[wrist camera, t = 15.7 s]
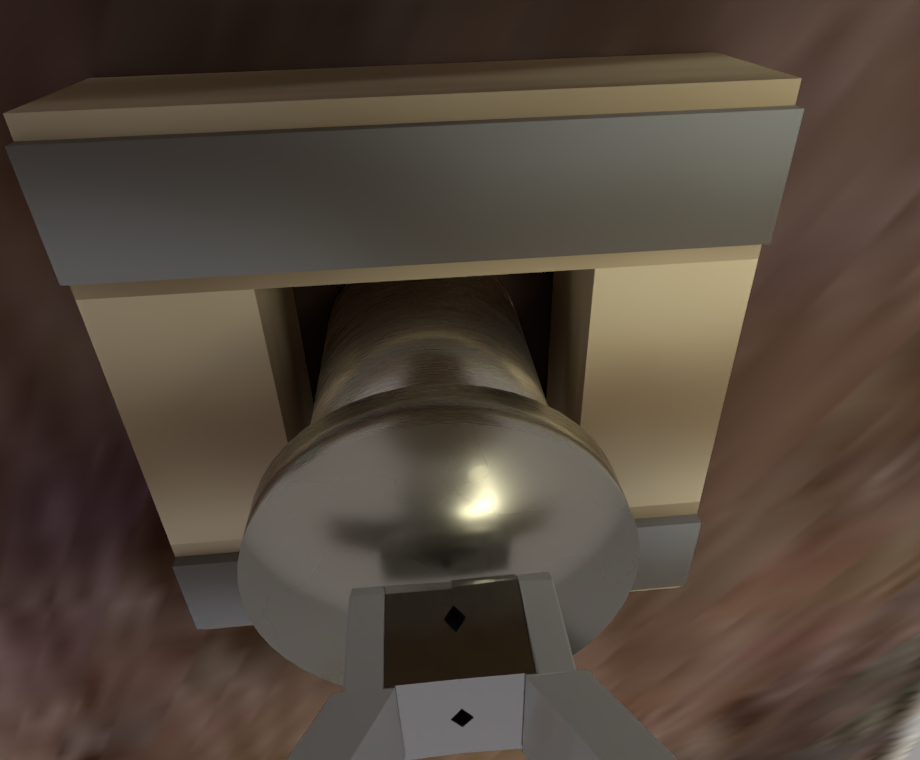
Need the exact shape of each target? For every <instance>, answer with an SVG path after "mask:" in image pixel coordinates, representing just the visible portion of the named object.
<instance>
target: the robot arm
mask: <svg viewBox="0 0 920 760" xmlns="http://www.w3.org/2000/svg"><path fill="white" fill-rule="evenodd" d="M521 748H522V752H523V753H524V755H525V756H526V758H527V759H528V760H677V759H676V758H675V757H674V756H673V755H672V754H671V753H670V752H669V751H668V750H667V749H666V748H665V747H664V746H663V745H662V744H661V743H660V742H659V741H658V740H657V739H656V738H655V737H654V736H653V735H652V734H651V733H650V732H649V731H648V730H647V729H646V728H645V727H644V726H643V725H642V724H641V723H640V722H639V721H638V720H637V719H636V718H635V717H634V716H633V715H632V714H631V713H630V712H629V711H628V710H627V709H626V708H625V707H624V706H623V705H622V704H621V703H620V702H619V701H618V700H617V699H616V698H615V697H614V696H613V695H612V694H611V693H610V692H609V691H608V690H607V689H606V688H605V687H604V686H603V685H602V684H601V683H600V682H599V681H598V680H597V679H596V678H595V677H594V676H593V675H592V674H591V673H590V672H589V671H588V670H587V669H584V670H576V667H575V663H574V659H573V655H572V651H571V647H570V643H569V640H568V636H567V632H566V628H565V624H564V620H563V616H562V613H561V609H560V605H559V601H558V597H557V593H556V589H555V586H554V582H553V578H552V576H551V575H550V573H549V572H539V573H528V574H517V575H516V576H515V574H509V575H499V576H489V577H479V578H469V579H460V580H451V582H438V583H422V584H405V585H389V586H376V587H363V588H352V590H351V594H350V597H349V607H348V622H347V636H346V651H345V666H344V680H343V692H342V693H334V694H332V695H331V696H330V698H329V699H328V701H327V702H326V703H325V705H324V706H323V708H322V709H321V711H320V712H319V713H318V715H317V716H316V718H315V719H314V721H313V722H312V723H311V725H310V726H309V728H308V729H307V731H306V732H305V733H304V735H303V736H302V738H301V739H300V741H299V742H298V743H297V745H296V746H295V748H294V749H293V751H292V752H291V753H290V755H289V756H288V758H287V759H286V760H412V759H420V758H427V757H435V756H443V755H450V754H458V753H467V752H480V751H494V750H507V749H521Z"/></svg>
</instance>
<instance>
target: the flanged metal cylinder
mask: <svg viewBox="0 0 920 760" xmlns="http://www.w3.org/2000/svg"><path fill="white" fill-rule="evenodd" d="M639 554H640V546H639V536H638V530H637V527H636V524H635V520H634V517H633V514H632V512H631V509H630V507H629V505H628V502H627V500H626V497H625V495H624V493H623V490H622V488H621V486H620V483H619V481H618V479H617V476H616V474H615V472H614V470H613V468H612V466H611V464H610V462H609V460H608V458H607V456H606V454H605V453H604V452H603V451H602V449H601V448H600V447H599V445H598V444H597V443H596V442H595V440H594V439H593V438H592V437H591V436H590V435H589V434H588V433H587V432H586V431H584V430H583V429H582V428H581V427H580V426H579V425H578V424H577V423H575V422H574V421H572V420H571V419H569V418H568V417H566V416H565V415H563V414H562V413H561V412H559V411H557V410H555V409H553V408H551V407H549V406H548V405H547V402H546V399H545V396H544V393H543V390H542V387H541V384H540V381H539V378H538V375H537V372H536V369H535V366H534V363H533V360H532V357H531V354H530V351H529V349H528V346H527V343H526V340H525V337H524V334H523V331H522V328H521V325H520V322H519V319H518V316H517V313H516V310H515V307H514V305H513V302H512V300H511V298H510V296H509V294H508V292H507V290H506V289H505V288H504V286H503V285H502V284H501V282H500V281H499V280H498V279H497V278H496V277H495V276H494V275H483V276H466V277H450V278H433V279H417V280H400V281H383V282H367V283H350V284H346V285H345V286H344V287H343V289H342V290H341V291H340V293H339V295H338V297H337V298H336V300H335V303H334V305H333V308H332V310H331V314H330V318H329V322H328V328H327V334H326V339H325V345H324V351H323V356H322V362H321V367H320V373H319V379H318V384H317V390H316V395H315V401H314V407H313V412H312V418H311V423H310V425H309V426H308V427H306V428H305V429H303V430H302V431H301V432H300V433H299V434H298V435H297V436H295V437H294V438H293V439H292V440H291V441H290V442H289V443H287V444H286V445H285V446H284V448H283V449H282V450H281V451H280V452H279V453H278V455H277V456H276V457H275V458H274V459H273V461H272V462H271V463H270V465H269V466H268V468H267V470H266V471H265V473H264V475H263V476H262V478H261V480H260V482H259V484H258V487H257V490H256V492H255V495H254V497H253V500H252V504H251V508H250V512H249V516H248V520H247V524H246V528H245V531H244V535H243V539H242V543H241V547H240V553H239V558H238V563H237V583H238V588H239V592H240V597H241V601H242V604H243V606H244V608H245V611H246V613H247V615H248V617H249V619H250V621H251V622H252V624H253V625H254V627H255V628H256V630H257V631H258V633H259V634H260V635H261V636H262V637H263V638H264V639H265V640H266V642H267V643H268V644H269V645H270V646H271V647H272V648H273V649H275V650H276V651H277V652H278V653H279V654H281V655H282V656H283V657H284V658H286V659H287V660H288V661H290V662H292V663H293V664H295V665H296V666H298V667H299V668H301V669H303V670H305V671H307V672H309V673H311V674H313V675H315V676H317V677H319V678H321V679H324V680H326V681H329V682H332V683H334V684H337V685H340V686H343V680H344V666H345V651H346V636H347V622H348V607H349V597H350V594H351V590H352V588H363V587H376V586H389V585H405V584H422V583H438V582H451V580H460V579H469V578H479V577H489V576H499V575H509V574H515V576H516V575H517V574H528V573H539V572H549V573H550V575H551V576H552V578H553V582H554V586H555V589H556V593H557V597H558V601H559V605H560V609H561V613H562V616H563V620H564V624H565V628H566V632H567V636H568V640H569V643H570V647H571V651H572V655H574V654H575V653H576V652H578V651H579V650H581V649H582V648H583V647H585V646H586V645H587V644H589V643H590V642H591V641H592V640H593V639H594V638H595V637H596V636H598V635H599V634H600V633H601V632H602V631H603V630H604V629H605V628H606V627H607V625H608V624H609V623H610V622H611V621H612V620H613V619H614V617H615V616H616V615H617V613H618V612H619V610H620V609H621V607H622V606H623V604H624V603H625V601H626V599H627V597H628V595H629V593H630V591H631V589H632V587H633V584H634V581H635V577H636V574H637V570H638V565H639Z"/></svg>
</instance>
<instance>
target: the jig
mask: <svg viewBox="0 0 920 760" xmlns="http://www.w3.org/2000/svg"><path fill="white" fill-rule="evenodd" d="M801 79H802V78H799V77H796V76H793V75H789V74H786V73H783V72H779V71H776V70H773V69H770V68H766V67H763V66H760V65H757V64H753V63H750V62H747V61H743V60H740V59H737V58H734V57H730V56H727V55H724V54H721V53H717V52H705V53H681V54H657V55H632V56H608V57H584V58H560V59H536V60H512V61H487V62H463V63H439V64H415V65H391V66H367V67H342V68H318V69H294V70H270V71H246V72H222V73H198V74H173V75H149V76H125V77H101V78H88V79H86V80H83V81H81V82H78V83H76V84H73V85H71V86H69V87H66V88H64V89H61V90H59V91H56V92H54V93H52V94H49V95H47V96H44V97H42V98H39V99H37V100H34V101H32V102H30V103H27V104H25V105H22V106H20V107H17V108H15V109H13V110H10V111H8V112H5V113H3V115H4V118H5V120H6V123H7V126H8V128H9V131H10V133H11V136H12V138H13V141H14V142H12V143H10V144H8V145H6V146H5V149H6V151H7V154H8V156H9V159H10V161H11V164H12V166H13V169H14V171H15V174H16V176H17V179H18V181H19V184H20V187H21V189H22V192H23V194H24V197H25V199H26V202H27V204H28V207H29V209H30V212H31V214H32V217H33V219H34V222H35V224H36V227H37V229H38V232H39V234H40V237H41V239H42V242H43V244H44V247H45V249H46V252H47V254H48V257H49V259H50V262H51V264H52V267H53V269H54V272H55V274H56V277H57V279H58V282H59V284H60V286H68V285H70V288H71V290H72V293H73V295H74V298H75V300H76V303H77V305H78V308H79V311H80V313H81V316H82V318H83V321H84V323H85V326H86V329H87V331H88V334H89V336H90V339H91V341H92V344H93V347H94V349H95V352H96V354H97V357H98V359H99V362H100V365H101V367H102V370H103V372H104V375H105V377H106V380H107V383H108V385H109V388H110V390H111V393H112V395H113V398H114V401H115V403H116V406H117V408H118V411H119V413H120V416H121V419H122V421H123V424H124V426H125V429H126V431H127V434H128V437H129V439H130V442H131V444H132V447H133V449H134V452H135V455H136V457H137V460H138V462H139V465H140V467H141V470H142V473H143V475H144V478H145V480H146V483H147V485H148V488H149V491H150V493H151V496H152V498H153V501H154V503H155V506H156V509H157V511H158V514H159V516H160V519H161V521H162V524H163V527H164V529H165V532H166V534H167V537H168V539H169V542H170V545H171V547H172V550H173V552H174V555H175V560H174V562H173V565H172V568H173V571H174V573H175V576H176V578H177V581H178V583H179V586H180V588H181V591H182V593H183V596H184V598H185V601H186V603H187V606H188V608H189V611H190V613H191V616H192V619H193V621H194V624H195V626H196V629H204V630H205V629H216V628H227V627H239V626H250V625H253V624H252V622H251V621H250V619H249V617H248V615H247V613H246V611H245V608H244V606H243V604H242V601H241V597H240V592H239V588H238V583H237V563H238V558H239V553H240V547H241V543H242V539H243V535H244V531H245V528H246V524H247V520H248V516H249V512H250V508H251V504H252V500H253V497H254V495H255V492H256V490H257V487H258V484H259V482H260V480H261V478H262V476H263V475H264V473H265V471H266V470H267V468H268V466H269V465H270V463H271V462H272V461H273V459H274V458H275V457H276V456H277V455H278V453H279V452H280V451H281V450H282V449H283V448H284V446H285V445H286V444H287V443H289V442H290V441H291V440H292V439H293V438H294V437H295V436H297V435H298V434H299V433H300V432H301V431H302V430H303V429H305V428H306V427H308V426H309V425H310V423H311V418H312V412H313V407H314V403H313V397H312V392H311V386H310V381H309V376H308V370H307V365H306V359H305V354H304V348H303V343H302V338H301V332H300V327H299V321H298V316H297V310H296V305H295V299H294V294H293V289H292V287H301V286H317V285H334V284H350V283H367V282H383V281H400V280H417V279H433V278H450V277H466V276H483V275H499V274H516V273H533V272H549V271H553V289H552V307H551V324H550V342H549V359H548V377H547V395H546V402H547V405H548V406H549V407H551V408H553V409H555V410H557V411H559V412H561V413H562V414H563V415H565V416H566V417H568V418H569V419H571V420H572V421H574V422H575V423H577V424H578V425H579V426H580V427H581V428H582V429H583V430H584V431H586V432H587V433H588V434H589V435H590V436H591V437H592V438H593V439H594V440H595V442H596V443H597V444H598V445H599V447H600V448H601V449H602V451H603V452H604V453H605V454H606V456H607V458H608V460H609V462H610V464H611V466H612V468H613V470H614V472H615V474H616V476H617V479H618V481H619V483H620V486H621V488H622V490H623V493H624V495H625V497H626V500H627V502H628V505H629V507H630V509H631V512H632V514H633V517H634V520H635V524H636V527H637V530H638V536H639V546H640V554H639V565H638V570H637V574H636V577H635V581H634V584H633V587H632V589H631V591H641V590H652V589H663V588H675V587H679V586H686V583H687V579H688V575H689V571H690V567H691V563H692V559H693V555H694V551H695V547H696V543H697V539H698V535H699V530H700V526H701V521H700V519H699V517H698V515H697V511H698V507H699V503H700V499H701V495H702V490H703V486H704V482H705V478H706V474H707V470H708V465H709V461H710V457H711V453H712V449H713V445H714V440H715V436H716V432H717V428H718V424H719V420H720V416H721V411H722V407H723V403H724V399H725V395H726V391H727V386H728V382H729V378H730V374H731V370H732V366H733V361H734V357H735V353H736V349H737V345H738V341H739V337H740V332H741V328H742V324H743V320H744V316H745V312H746V307H747V303H748V299H749V295H750V291H751V287H752V283H753V278H754V274H755V270H756V266H757V262H758V258H759V253H760V249H761V245H762V244H771V241H772V237H773V233H774V229H775V225H776V221H777V217H778V213H779V209H780V205H781V201H782V197H783V192H784V188H785V184H786V180H787V176H788V172H789V168H790V164H791V160H792V156H793V152H794V148H795V144H796V140H797V136H798V132H799V128H800V124H801V120H802V116H803V112H804V108H801V107H799V106H796V105H795V104H796V100H797V95H798V91H799V87H800V83H801Z"/></svg>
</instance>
